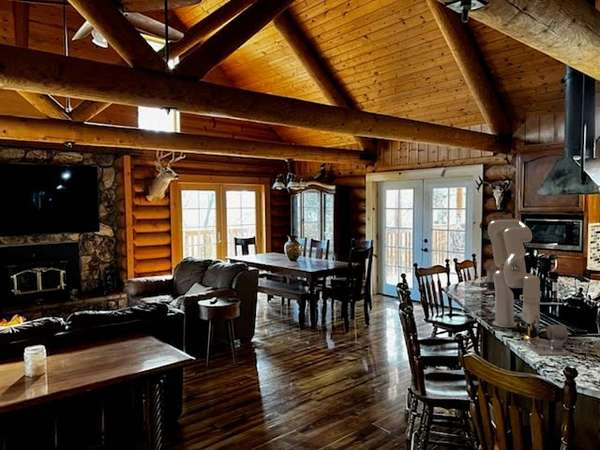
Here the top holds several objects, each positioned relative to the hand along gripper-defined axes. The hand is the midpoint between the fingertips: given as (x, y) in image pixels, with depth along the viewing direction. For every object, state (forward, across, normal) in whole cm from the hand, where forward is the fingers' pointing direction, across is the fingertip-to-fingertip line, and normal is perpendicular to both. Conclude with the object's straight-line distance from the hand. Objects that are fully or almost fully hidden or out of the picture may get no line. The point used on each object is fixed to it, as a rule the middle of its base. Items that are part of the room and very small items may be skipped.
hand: (531, 335), depth 226 cm
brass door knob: (+2, 0, 0) cm, 2 cm away
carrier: (+2, +14, 0) cm, 14 cm away
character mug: (+2, -54, +24) cm, 59 cm away
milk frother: (+2, -136, +30) cm, 139 cm away
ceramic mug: (+2, +1, +13) cm, 13 cm away
